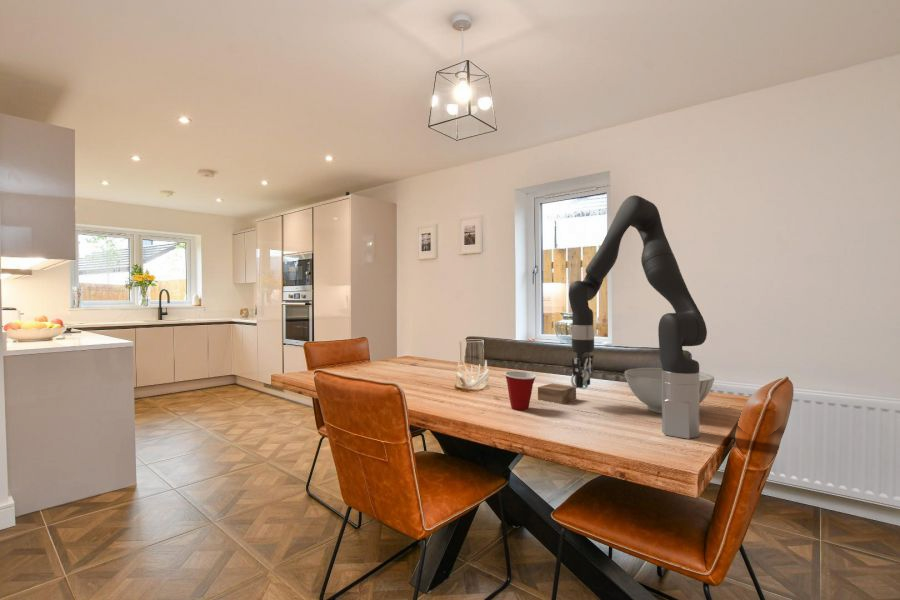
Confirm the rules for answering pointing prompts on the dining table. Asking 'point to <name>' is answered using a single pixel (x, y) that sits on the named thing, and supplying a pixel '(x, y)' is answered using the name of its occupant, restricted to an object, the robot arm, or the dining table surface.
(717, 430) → the dining table surface
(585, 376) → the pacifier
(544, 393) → the walnut block
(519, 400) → the plastic cup
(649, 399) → the decorative bowl
